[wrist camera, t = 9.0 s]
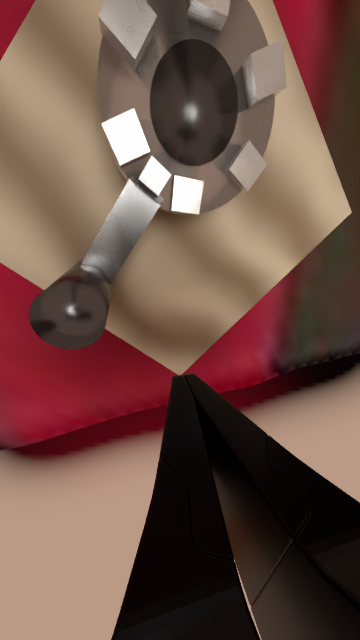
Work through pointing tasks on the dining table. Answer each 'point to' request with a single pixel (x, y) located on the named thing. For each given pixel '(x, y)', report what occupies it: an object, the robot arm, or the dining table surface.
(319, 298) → the dining table surface
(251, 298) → the birch board
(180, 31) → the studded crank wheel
